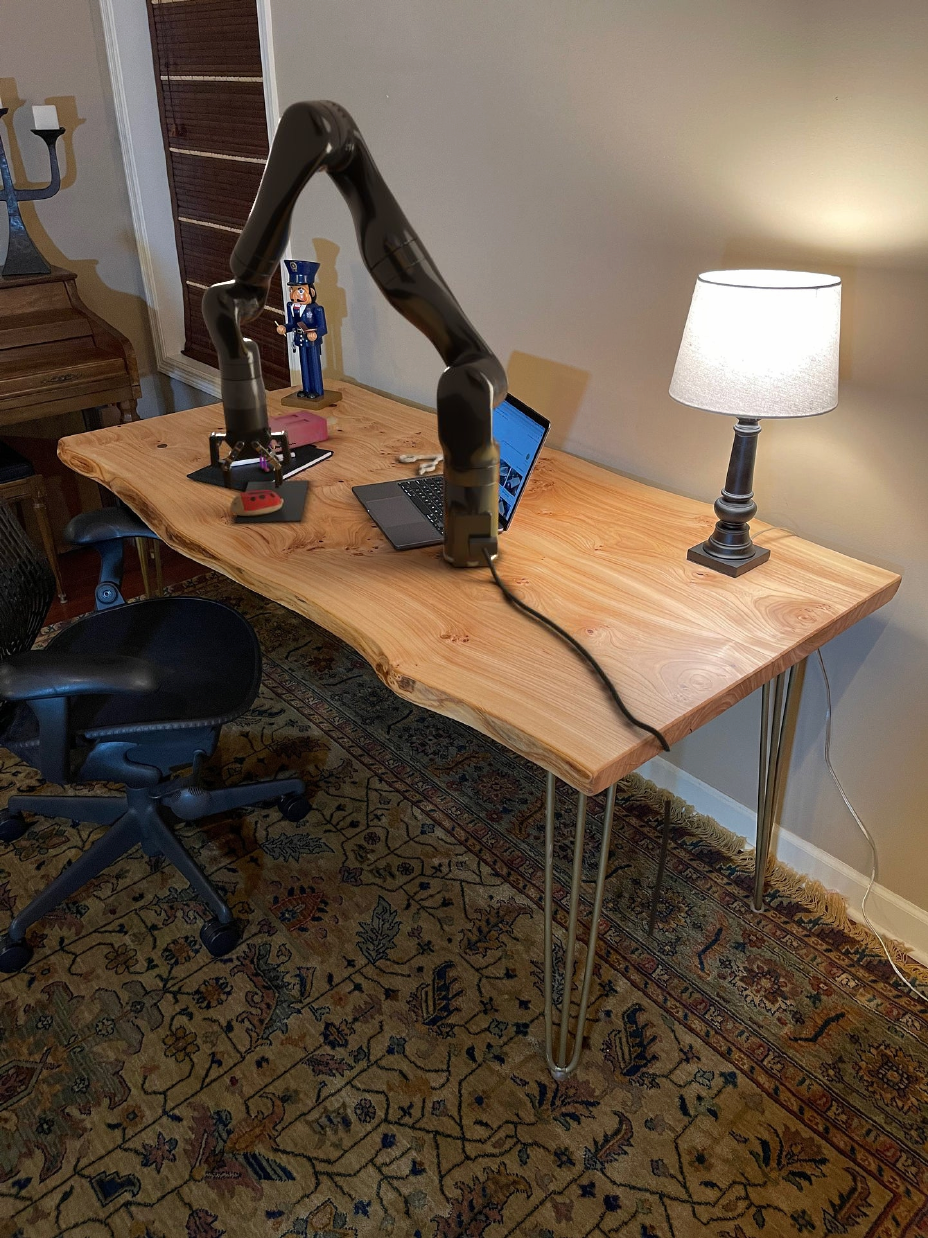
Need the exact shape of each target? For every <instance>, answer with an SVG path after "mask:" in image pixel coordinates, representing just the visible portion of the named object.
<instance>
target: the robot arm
mask: <svg viewBox="0 0 928 1238" xmlns="http://www.w3.org/2000/svg"><path fill="white" fill-rule="evenodd" d="M317 173H326V175H327V176H328V177H329V179H330V181H332V183H333V185H334V186H335V187H336V189H337V190H338V192H339V193H340V195H341V196H342V199H343V200H344V202H345V204H346V205H347V207H348V210H349V212H350V215H351V218H352V223H353V227H354V232H355V236H356V237H355V238H356V243H357V246H358V251H359V254H360V257H361V260H362V263H363V265H364V267H365V269H366V270H367V272H368V274H369V276H370V277H371V278H372V281H373V282H374V283H375V285H376V287H377V288H378V290H379V291H380V293H381V294H382V296H383V297H384V298H385V300H386V302H387V303H388V304H389V305H390V306H391V307H392V308H393V309H394V310H395V311H396V312H397V313H398V314H399V315H400V316H402V318H404V319H405V320H406V321H407V322H409V323H410V325H412V326H414V328H416V329H417V330H418V331H419V332H420V333H422V334H423V335H424V336H425V338H427V340H429V342H430V343H431V344H432V345H433V347H434V348H435V350H436V351H437V353H438V354H439V357H440V358H441V360H442V361H443V363H444V365H445V367H446V369H444V371H443V372H442V373H441V375H440V377H439V379H438V382H437V386H436V422H437V424H436V425H437V438H438V442H439V445H440V447H441V451H442V453H443V459H442V513H443V515H442V527H443V528H442V534H443V535H442V538H443V542H442V543H443V547H442V557H443V558H444V560H445V561H447V562H448V563H451V564H452V565H453V567H454V568H472V567H473V568H474V567H488V568H489V571H490V572H491V575H492V578H493V579H494V581H495V583H496V584H497V585H498V586H499V588H500V589H501V590H502V592H503V593H504V594H505V596H506V597H508V599H510V600H511V601H513V602H514V603H515V604H516V605H517V606H518V607H520V608H521V609H523V610H524V611H525V612H526V613H527V612H528V613H529V614H531V615H532V616H534V617H535V618H537V619H539V620H540V621H543V622H544V623H545V624H546V625H548V626H549V627H551V629H553V630H555V631H556V633H559V635H561V636H562V637H563V638H565V639H566V640H567V641H568V642H570V643H571V645H573V646H574V647H575V648H576V649H577V650H578V651H579V652H580V653H581V655H583V656H584V657H585V658H586V660H587V661H588V662H589V663H590V664H591V666H592V668H594V670H595V671H596V673H597V674H598V675H599V677H600V678H601V680H602V681H603V682H604V684H605V685H606V687H607V688H608V690H609V693H610V694H611V696H612V698H613V700H614V702H615V703H616V705H617V707H618V708H619V710H620V712H621V713H622V714H623V715H624V717H625V718H626V719H627V720H628V721H629V722H630V723H631V724H632V725H634V726H635V727H637V728H640V729H641V730H643V731H646V732H648V733H650V734H651V735H653V736H654V737H655V738H656V740H658V742H659V743H660V745H661V747H662V749H663V751H664V752H667V753H670V752H671V749H670V746H669V744H668V741H667V740H666V738H665V737H664V735H663V734H662V733H661V732H660V731H659V730H657V729H656V728H654V727H653V726H651V725H649V724H646V723H645V722H642V721H640V720H639V719H637V718H635V717H634V716H633V715H632V713H630V711H629V710H628V708H627V707H626V706H625V705H624V703H623V701H622V699H621V697H620V695H619V694H618V691H617V689H616V688H615V686H614V685H613V683H612V681H611V680H610V679H609V678H608V676H607V675H606V673H605V672H604V671H603V669H602V668H601V666H600V665H599V663H598V662H597V660H596V659H594V657H593V656H592V655H591V653H589V652H588V650H587V649H585V647H584V646H582V644H580V643H579V642H578V641H577V640H576V639H575V638H574V637H573V636H571V635H570V634H569V633H568V632H566V631H565V630H564V629H563V628H561V627H560V626H559V625H558V624H556V623H555V622H553V621H552V620H550V619H549V617H547V616H545V615H543V614H542V613H539V612H538V611H537V610H534V609H533V608H532V607H530V606H529V605H526V603H524V602H522V601H521V600H520V599H519V598H518V597H516V596H515V595H514V594H512V593H511V592H510V591H509V590H508V589H507V588H506V587H505V585H504V584H503V582H502V581H501V578H500V577H499V575H498V572H497V570H496V568H495V566H494V562H495V561H496V560H497V559H498V557H499V512H500V511H499V507H500V504H499V503H500V475H501V474H500V472H501V444H500V442H499V440H497V438H495V437H494V430H493V429H494V427H493V423H494V422H493V419H494V416H493V414H494V413H493V412H494V410H497V408H499V407H500V406H501V405H502V404H503V403H504V401H505V400H506V398H507V397H508V396H507V395H508V392H509V378H508V375H507V371H506V369H505V367H504V365H503V364H502V363H501V361H500V360H499V358H498V357H497V355H496V354H495V352H494V351H493V350H492V349H491V347H490V346H489V345H488V343H487V342H486V341H485V339H484V338H483V336H482V335H481V334H480V333H479V331H478V330H477V329H476V328H475V326H474V325H473V324H472V322H471V321H470V320H469V318H468V316H467V315H466V313H465V311H464V310H463V308H462V306H461V305H460V303H459V301H458V299H457V298H456V296H455V294H454V293H453V291H452V289H451V288H450V286H449V284H448V283H447V281H446V280H445V278H444V276H443V275H442V273H441V271H440V270H439V268H438V266H437V265H436V262H435V261H434V258H433V257H432V256H431V254H430V252H429V251H428V249H427V247H426V246H425V244H424V242H423V240H422V239H421V237H420V236H419V234H418V232H417V231H416V229H415V228H414V227H413V225H412V224H411V222H410V221H409V219H408V217H407V216H406V214H405V213H404V211H403V209H402V207H401V206H400V204H399V202H398V201H397V200H398V199H396V197H395V195H394V194H393V192H392V191H391V189H390V188H389V185H388V184H387V182H386V181H385V179H384V177H383V175H382V173H381V172H380V170H379V168H378V165H377V164H376V161H375V159H374V157H373V155H372V153H371V151H370V148H369V147H368V144H367V143H366V141H365V139H364V137H363V135H362V132H361V131H360V128H359V127H358V125H357V122H356V121H355V119H354V118H353V116H352V115H351V113H350V112H349V111H348V110H347V108H345V107H344V106H343V105H341V104H340V103H338V102H336V101H334V100H329V99H317V100H316V99H314V100H309V99H308V100H301V101H297V102H294V103H292V104H290V105H289V106H287V108H286V109H285V110H284V111H283V113H282V114H281V116H280V118H279V120H278V124H277V127H276V129H275V132H274V136H273V139H272V143H271V146H270V150H269V154H268V158H267V162H266V165H265V169H264V172H263V175H262V179H261V182H260V186H259V188H258V191H257V195H256V198H255V201H254V203H253V206H252V209H251V210H250V211H251V212H250V213H249V216H248V218H247V221H246V223H245V225H244V227H243V229H242V230H241V233H240V235H239V236H238V239H237V241H236V244H235V245H234V247H233V250H232V252H231V255H230V258H229V267H230V270H231V272H232V273H233V275H234V277H233V279H232V280H229V281H225V282H221V283H216V284H213V285H211V286H209V287H207V288H206V290H205V291H204V293H203V296H202V300H201V313H202V314H201V315H202V317H203V321H204V323H205V327H206V329H207V331H208V334H209V336H210V338H211V342H212V344H213V347H214V348H215V350H216V353H217V360H218V368H219V376H220V393H221V395H220V396H221V401H222V402H221V403H222V410H223V417H224V425H225V434H224V433H218V432H217V431H212V432H211V433H210V435H209V437H208V446H209V456H210V458H209V459H210V466H211V467H212V468H213V469H216V468H217V469H220V470H221V471H222V478H223V484H224V486H225V487H227V488H228V490H231V491H232V490H233V489H234V488H235V482H234V474H233V467H232V464H233V463H234V461H235V460H236V458H237V457H240V458H241V459H247V458H253V459H259V457H260V456H262V458H263V457H264V458H265V460H266V462H267V463H269V464H270V465H271V466H272V467H273V471H272V472H273V477H274V478H273V480H274V481H275V488H276V489H277V488H280V485H282V483H283V481H284V474H283V473H284V472H283V468H285V467H290V466H291V463H292V459H293V458H292V452H291V449H290V445H289V439H288V433H287V431H285V430H283V431H282V432H281V433H272V432H271V431H270V429H269V423H268V418H269V415H268V404H267V393H266V387H265V383H264V380H263V374H262V372H263V371H262V365H261V356H260V350H259V349H260V348H259V346H258V344H257V342H256V341H254V340H252V339H250V338H245V337H244V336H243V334H242V331H241V327H240V326H241V325H245V324H249V323H251V322H254V321H255V320H256V319H257V318H258V317H259V316H260V315H261V314H262V312H263V310H264V309H265V306H266V304H267V300H268V295H269V291H270V287H271V280H272V277H273V275H274V274H275V272H276V270H277V269H278V266H279V265H280V262H281V261H282V258H283V257H284V255H285V253H286V250H287V248H288V245H289V241H290V239H291V234H292V225H293V215H294V210H295V207H296V204H297V202H298V199H299V197H300V196H301V194H302V192H303V190H304V189H305V188H306V186H307V185H308V183H309V182H310V180H312V178H313V177H314V176H315V175H316V174H317ZM272 440H275V441H276V442H277V444H278V445H281V449H282V451H281V454H282V455H281V456H282V457H281V458H280V457H279V455H277V453H276V452H274V450H273V449H272V448H271V447H270V446H269V445H270V443H271V442H272ZM223 442H225V443H226V444H227V446H228V447H229V448H230V449H231V450H230V451H229V453H228V454H227V456H226V457H225V459H221V458H220V447H221V446H222V444H223ZM671 807H672V800H670V799H666V800H664V814H663V829H662V839H661V846H660V855H659V861H658V866H657V867H658V868H657V873H656V879H655V884H654V890H653V897H652V902H651V907H650V914H649V920H648V927H647V935H648V936H649V937H652V936H653V935H654V930H655V924H656V917H657V911H658V904H659V899H660V892H661V887H662V884H663V883H662V882H663V877H664V871H665V867H666V859H667V854H668V853H667V851H668V845H669V836H670V824H671Z"/></svg>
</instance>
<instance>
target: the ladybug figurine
mask: <svg viewBox="0 0 928 1238" xmlns="http://www.w3.org/2000/svg"><path fill="white" fill-rule="evenodd" d="M282 503H283V499H280V497H279V496H278V495H277V494H276V493H275V492H273V491H270V490H253V491H248V492H245V491H244V492H241V493H238V494H237V495H236V496H234V498H233V499H232V501H231V503H230V509H229V510H230V512H231V513H232V514H233V515H235V516H237V515H239V516H257V515H263V514H268V513H271V512H274V511H276V510H278V509H280V508H281V507H282Z"/></svg>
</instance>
